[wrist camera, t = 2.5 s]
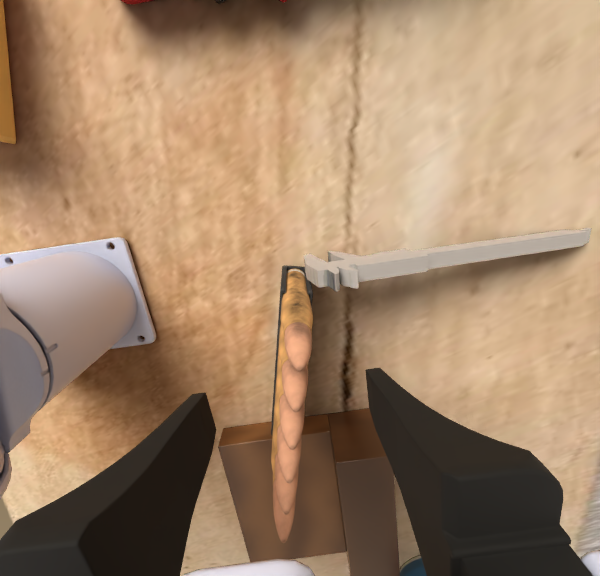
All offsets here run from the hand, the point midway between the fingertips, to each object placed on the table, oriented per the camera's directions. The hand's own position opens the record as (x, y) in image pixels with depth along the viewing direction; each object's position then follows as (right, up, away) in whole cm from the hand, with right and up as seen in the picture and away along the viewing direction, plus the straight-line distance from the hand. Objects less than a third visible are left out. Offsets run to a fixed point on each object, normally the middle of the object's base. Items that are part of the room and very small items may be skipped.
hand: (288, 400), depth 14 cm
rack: (0, -13, +15) cm, 20 cm away
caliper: (+11, +8, +9) cm, 16 cm away
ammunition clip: (0, +2, +10) cm, 10 cm away
